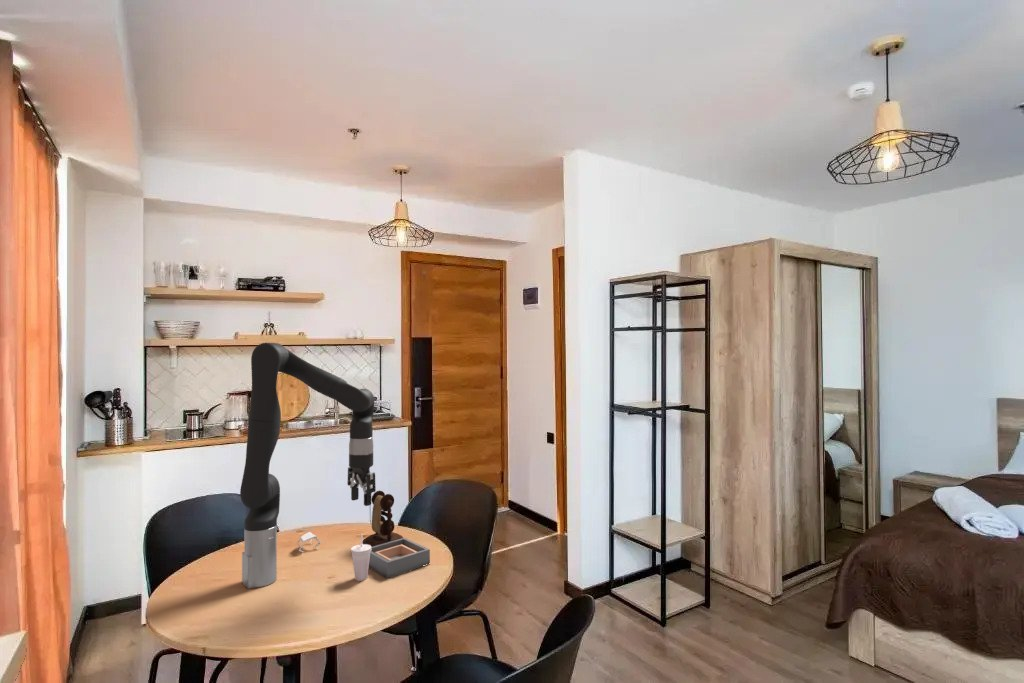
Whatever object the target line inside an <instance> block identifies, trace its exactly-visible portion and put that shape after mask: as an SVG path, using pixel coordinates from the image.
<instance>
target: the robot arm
mask: <svg viewBox="0 0 1024 683" xmlns="http://www.w3.org/2000/svg"><path fill="white" fill-rule="evenodd" d="M250 362H251V363H250V365H251V368H250V369H251V393H250V400H249V402H250V403H249V414H248V422H247V438H246V451H245V462H244V468H243V475H242V479H241V485H240V489H239V490H240V491H239V494H240V496H239V497H240V500H241V502H242V504H243V506H245V507H247V508H249V511H248V513H247V516H246V517H245V519H244V528H243V529H244V531H243V532H244V537H243V539H244V540H243V541H244V544H243V545H244V548H243V549H244V550H243V551H242V553H241V564H242V565H241V571H242V572H241V583H242V584H243V586H244V587H246V589H254V588H262V587H266V586H269V585H271V584H273V583H274V582H276V581H277V578H278V575H277V574H278V571H277V570H278V568H277V567H278V566H277V565H278V564H277V562H278V561H277V560H278V558H277V556H278V555H277V554H278V553H277V552H278V551H277V550H278V549H277V546H278V543H277V542H278V541H277V539H278V536H277V534H278V532H277V531H278V529H277V528H278V526H277V525H278V522H277V521H278V518H279V513H280V502H281V501H280V500H281V498H280V497H281V487H280V483H279V479H277V477H276V476H275V475H273V474H271V473H270V463H271V459H272V457H273V454H274V451H275V448H276V445H277V444H278V440H279V436H280V433H281V421H282V411H281V405H280V402H279V397H278V393H277V392H278V391H277V384H278V383H277V381H278V374H279V373H282V374H284V375H289V376H291V377H293V378H295V379H297V380H299V381H300V382H303V383H304V384H305V385H306V386H308V387H309V388H310V389H312V390H314V391H315V392H317V393H319V394H321V395H323V396H325V397H328V398H330V399H332V400H335V401H336V402H338V403H339V404H341V405H342V406H344V407H345V408H347V409H349V410H351V411H352V419H351V421H350V425H349V443H348V467H347V486H349V487H350V491H351V492H350V493H351V496H350V498H351V499H350V500H351V501H357V500H359V494H360V493H359V487H360V488H361V489H362V491H363V506H364V507H368V506H372V493H375V492H376V491H377V490H376V488H377V487H376V473H375V472H370V468H371V467H373V466H374V439H373V438H374V437H373V434H374V433H373V429H374V428H373V417H374V412H375V396H374V394H373V392H372V391H371V390H369V389H367V388H357V387H356V386H353V385H351V384H349V383H348V381H346V380H345V379H344V378H341V377H339V376H337V375H335V374H334V373H331V372H329V371H326V370H324V369H322V368H320V367H318V366H316V365H313V364H311V363H309V362H307V361H306V360H304V359H303V358H301V357H300V356H298V355H297V354H295V353H294V352H293V351H291V350H290V349H288V348H286V347H285V346H283V345H282V344H280V343H277V342H262V343H260V344H258V345H256V346H255V348H254V349H253V351H252V354H251V358H250Z"/></svg>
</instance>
